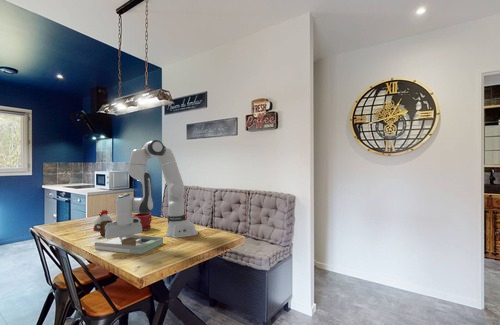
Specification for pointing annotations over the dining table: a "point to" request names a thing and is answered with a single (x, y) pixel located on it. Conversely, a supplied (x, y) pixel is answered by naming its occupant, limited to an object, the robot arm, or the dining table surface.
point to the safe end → (148, 246)
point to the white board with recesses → (117, 245)
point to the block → (129, 241)
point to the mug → (102, 227)
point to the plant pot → (144, 220)
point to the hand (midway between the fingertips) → (124, 243)
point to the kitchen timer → (102, 218)
